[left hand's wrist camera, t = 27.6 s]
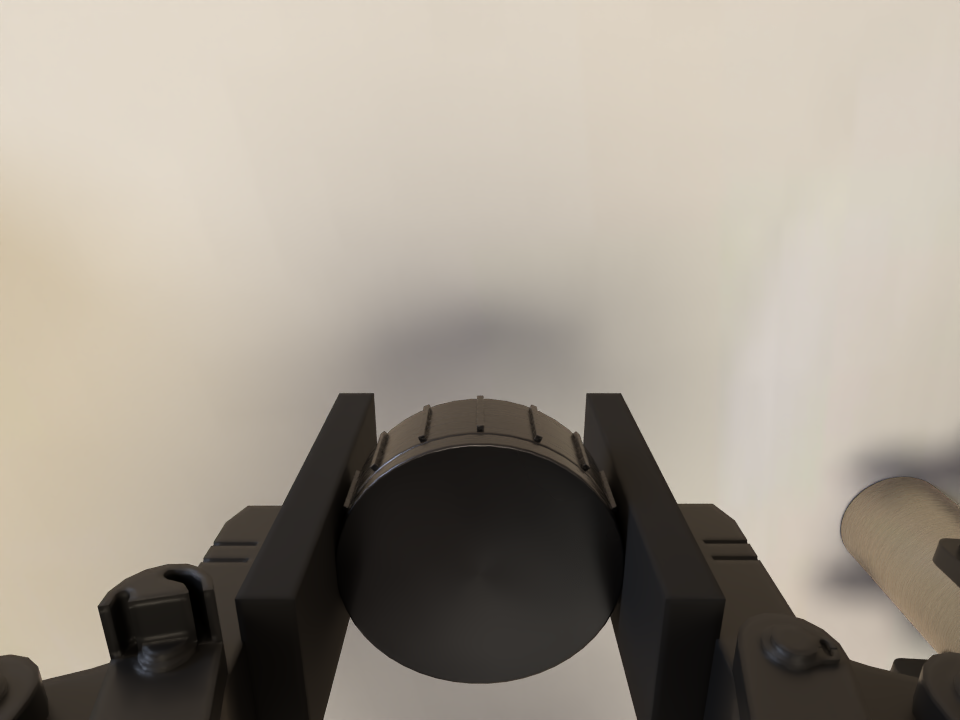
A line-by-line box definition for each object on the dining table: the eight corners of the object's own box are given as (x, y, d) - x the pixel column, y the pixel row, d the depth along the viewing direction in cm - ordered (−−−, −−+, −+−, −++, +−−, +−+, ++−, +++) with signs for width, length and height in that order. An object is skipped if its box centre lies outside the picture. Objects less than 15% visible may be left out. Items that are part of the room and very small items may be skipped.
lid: (298, 482, 12) (269, 539, 10) (519, 345, 11) (525, 383, 9) (447, 652, 13) (442, 725, 12) (654, 543, 12) (681, 607, 11)
